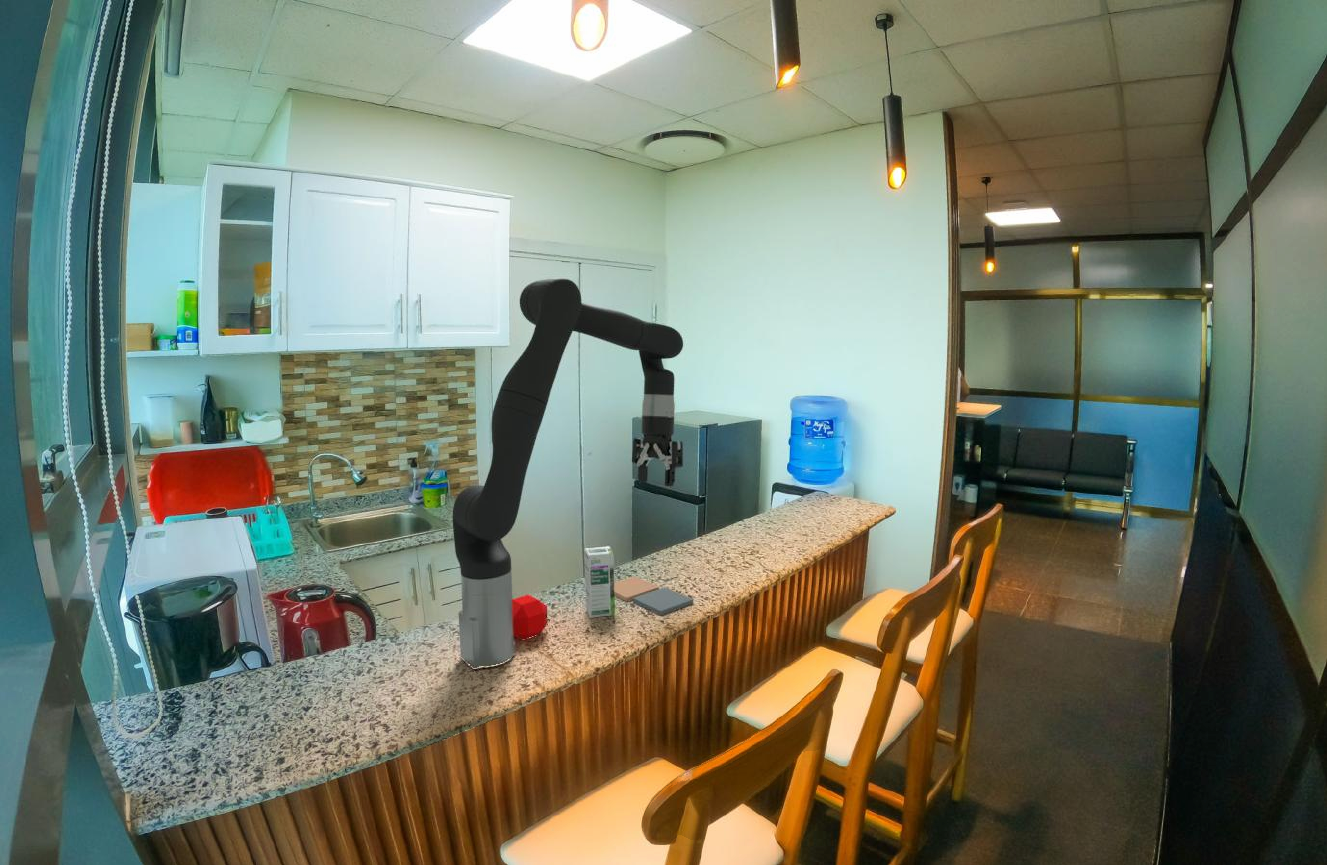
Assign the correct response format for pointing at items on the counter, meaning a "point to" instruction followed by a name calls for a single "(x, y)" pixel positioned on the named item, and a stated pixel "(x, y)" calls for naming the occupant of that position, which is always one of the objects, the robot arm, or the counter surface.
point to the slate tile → (663, 601)
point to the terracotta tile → (632, 588)
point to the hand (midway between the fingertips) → (655, 484)
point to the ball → (528, 616)
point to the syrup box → (599, 581)
